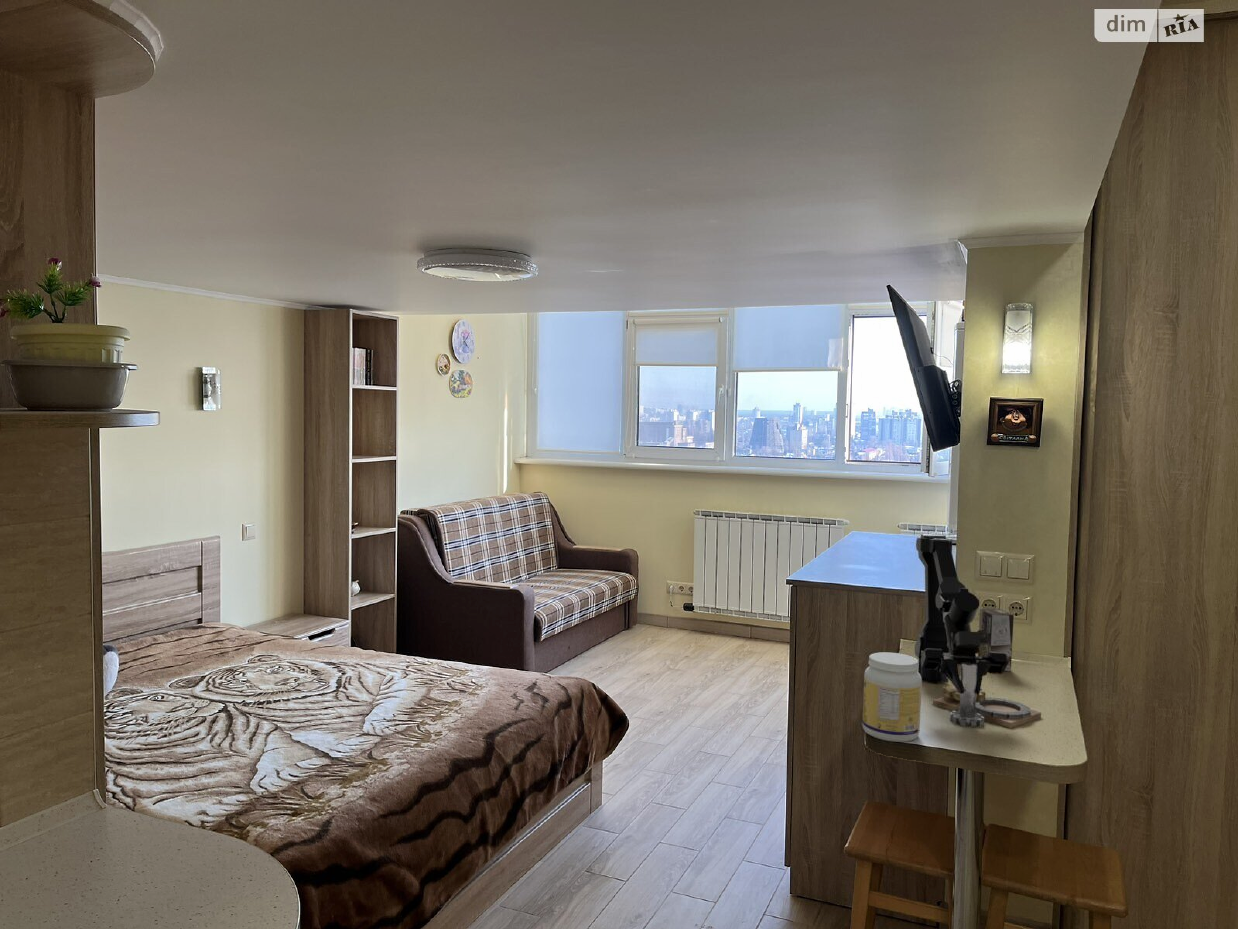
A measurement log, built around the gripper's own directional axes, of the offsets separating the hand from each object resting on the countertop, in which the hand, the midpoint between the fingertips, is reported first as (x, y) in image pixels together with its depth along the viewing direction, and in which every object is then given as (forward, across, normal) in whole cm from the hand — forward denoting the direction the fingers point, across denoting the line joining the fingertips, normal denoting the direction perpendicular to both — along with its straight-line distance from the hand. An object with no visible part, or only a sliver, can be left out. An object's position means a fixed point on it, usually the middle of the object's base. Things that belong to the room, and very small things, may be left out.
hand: (969, 693), depth 201 cm
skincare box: (-37, +8, +47) cm, 60 cm away
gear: (+4, 0, +6) cm, 7 cm away
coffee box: (-33, +21, +43) cm, 59 cm away
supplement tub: (+12, -19, -2) cm, 23 cm away
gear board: (-3, +7, +13) cm, 15 cm away
